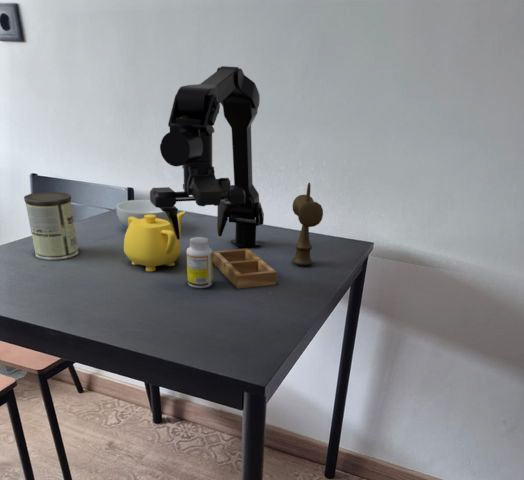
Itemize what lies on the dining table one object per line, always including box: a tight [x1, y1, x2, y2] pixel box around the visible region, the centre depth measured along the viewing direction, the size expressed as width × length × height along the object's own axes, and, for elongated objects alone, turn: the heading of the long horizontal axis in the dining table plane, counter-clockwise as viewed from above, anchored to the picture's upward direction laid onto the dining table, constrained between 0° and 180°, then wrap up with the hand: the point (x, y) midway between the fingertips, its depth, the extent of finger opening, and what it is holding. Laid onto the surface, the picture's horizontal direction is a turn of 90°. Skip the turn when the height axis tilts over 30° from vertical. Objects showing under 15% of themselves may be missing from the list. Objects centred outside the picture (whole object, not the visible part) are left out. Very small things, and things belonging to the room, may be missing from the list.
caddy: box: [212, 248, 278, 290], centre depth 115 cm, size 18×9×3 cm, turn 23°
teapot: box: [123, 210, 186, 272], centre depth 116 cm, size 14×14×12 cm
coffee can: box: [23, 191, 80, 261], centre depth 118 cm, size 10×10×14 cm
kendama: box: [292, 182, 324, 267], centre depth 119 cm, size 6×10×20 cm, turn 7°
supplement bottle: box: [186, 236, 214, 289], centre depth 106 cm, size 6×6×10 cm
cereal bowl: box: [115, 199, 171, 228], centre depth 142 cm, size 17×17×7 cm
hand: (199, 237), depth 103 cm, fingers open, 9 cm apart
